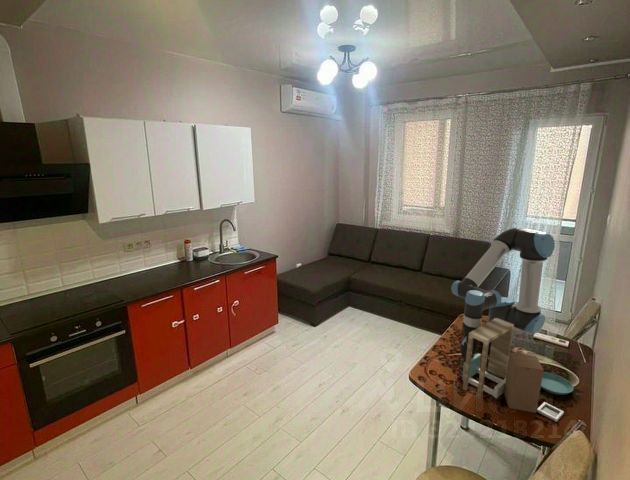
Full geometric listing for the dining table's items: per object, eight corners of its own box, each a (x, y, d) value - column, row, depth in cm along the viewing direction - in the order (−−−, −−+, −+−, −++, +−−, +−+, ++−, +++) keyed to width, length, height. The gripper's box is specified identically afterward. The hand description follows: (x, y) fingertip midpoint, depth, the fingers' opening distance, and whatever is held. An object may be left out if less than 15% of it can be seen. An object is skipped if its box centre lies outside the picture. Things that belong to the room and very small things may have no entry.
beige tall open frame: (489, 369, 165) (496, 317, 158) (506, 378, 158) (514, 324, 152) (462, 388, 151) (468, 332, 145) (480, 398, 145) (487, 340, 138)
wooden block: (536, 413, 137) (544, 369, 132) (508, 408, 140) (515, 365, 135) (529, 397, 146) (536, 355, 141) (503, 392, 149) (509, 351, 144)
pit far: (543, 404, 142) (544, 401, 141) (563, 414, 136) (564, 411, 136) (536, 411, 138) (537, 409, 137) (556, 422, 132) (557, 419, 132)
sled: (476, 369, 164) (478, 353, 162) (510, 387, 152) (512, 369, 150) (462, 379, 157) (464, 362, 155) (496, 398, 145) (499, 379, 143)
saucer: (568, 381, 156) (569, 376, 156) (576, 402, 143) (577, 396, 143) (530, 373, 162) (531, 368, 161) (535, 392, 149) (536, 387, 148)
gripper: (471, 317, 162) (466, 360, 168) (456, 325, 155) (451, 370, 161) (487, 323, 157) (481, 368, 162) (471, 331, 149) (466, 378, 155)
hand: (466, 369), depth 161 cm, fingers closed
